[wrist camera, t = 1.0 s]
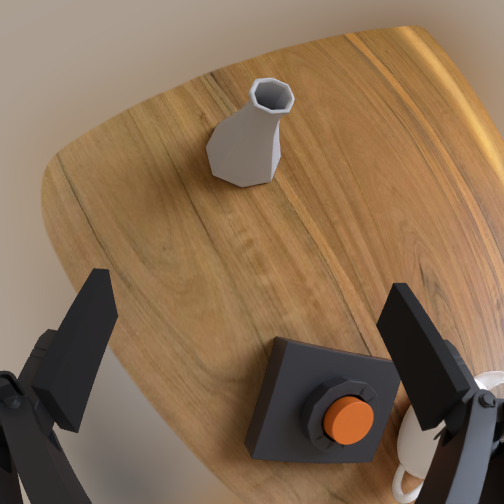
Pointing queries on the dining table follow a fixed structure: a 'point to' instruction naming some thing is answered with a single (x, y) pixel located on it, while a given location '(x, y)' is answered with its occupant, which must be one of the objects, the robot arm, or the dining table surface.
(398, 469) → the teapot
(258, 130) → the flask
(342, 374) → the button box
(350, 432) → the power button
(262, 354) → the dining table surface
